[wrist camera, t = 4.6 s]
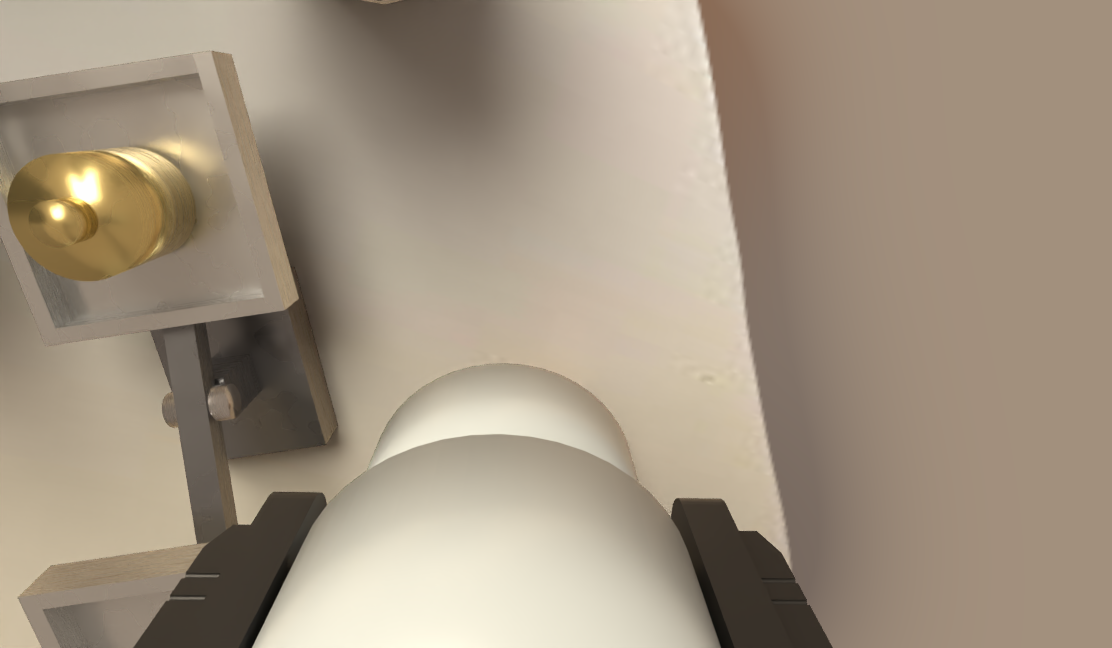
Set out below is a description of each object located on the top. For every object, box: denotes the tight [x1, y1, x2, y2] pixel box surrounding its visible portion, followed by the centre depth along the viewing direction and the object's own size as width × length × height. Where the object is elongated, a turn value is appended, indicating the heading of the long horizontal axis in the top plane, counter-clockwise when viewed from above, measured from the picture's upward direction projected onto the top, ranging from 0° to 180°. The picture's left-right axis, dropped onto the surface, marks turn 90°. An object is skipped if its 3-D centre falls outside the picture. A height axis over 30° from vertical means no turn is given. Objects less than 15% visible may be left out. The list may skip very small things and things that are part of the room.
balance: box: [0, 51, 338, 648], centre depth 26 cm, size 25×9×11 cm, turn 8°
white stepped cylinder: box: [252, 363, 721, 648], centre depth 9 cm, size 6×6×8 cm
